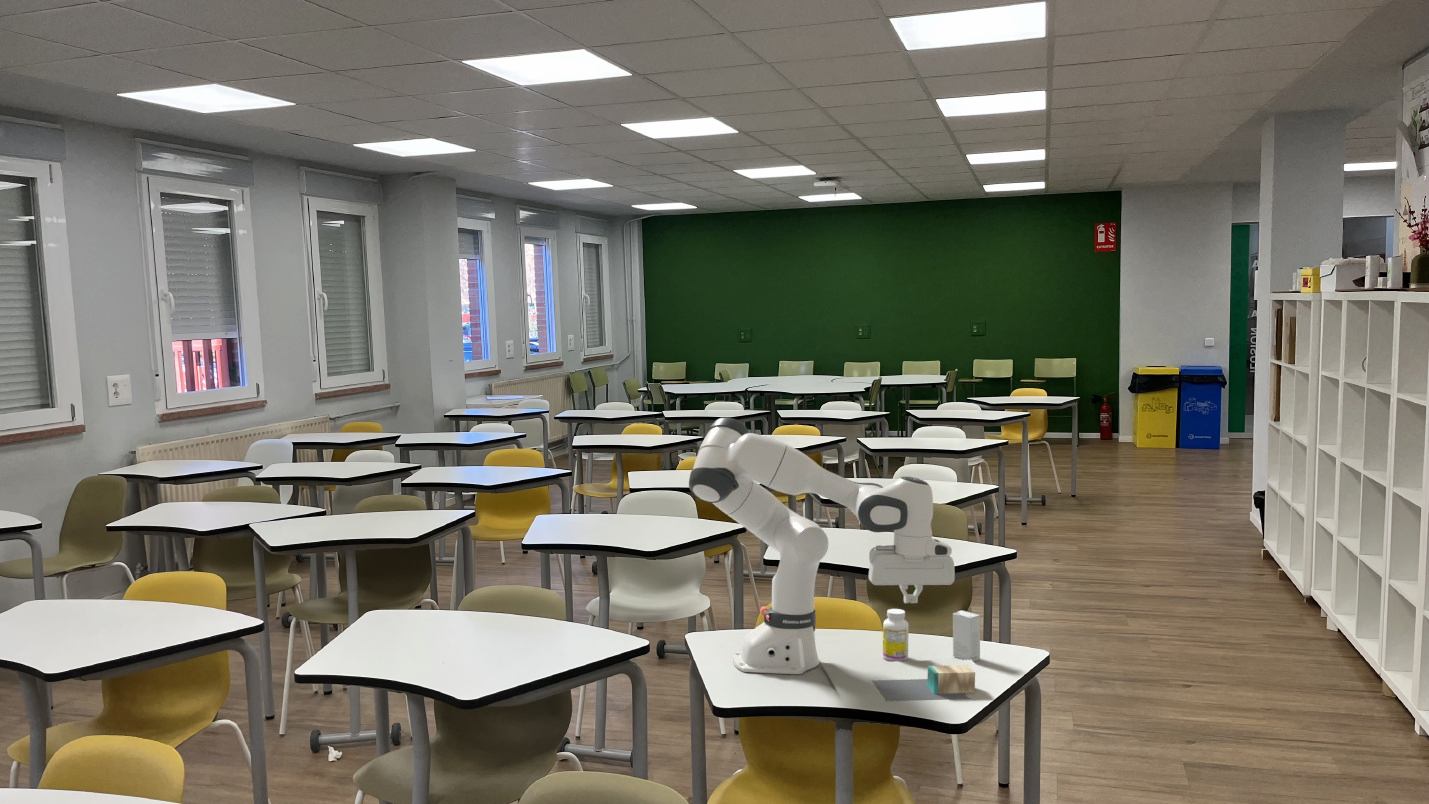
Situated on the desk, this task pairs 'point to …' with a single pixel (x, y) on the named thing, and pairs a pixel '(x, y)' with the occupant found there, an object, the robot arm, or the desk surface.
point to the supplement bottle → (895, 636)
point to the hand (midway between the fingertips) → (910, 602)
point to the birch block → (951, 679)
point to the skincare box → (966, 635)
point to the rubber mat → (911, 690)
